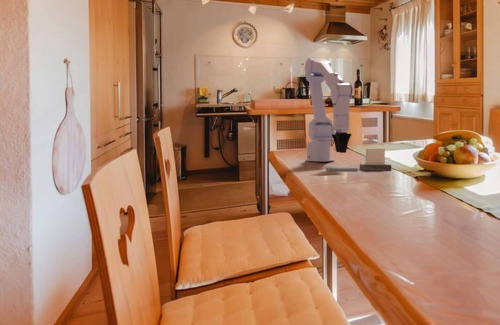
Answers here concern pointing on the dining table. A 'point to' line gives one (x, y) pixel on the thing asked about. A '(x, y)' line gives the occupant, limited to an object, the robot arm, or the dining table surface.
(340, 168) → the tile
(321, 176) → the dining table surface
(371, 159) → the tan rectangular post
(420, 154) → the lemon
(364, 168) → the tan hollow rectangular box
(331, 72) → the robot arm
